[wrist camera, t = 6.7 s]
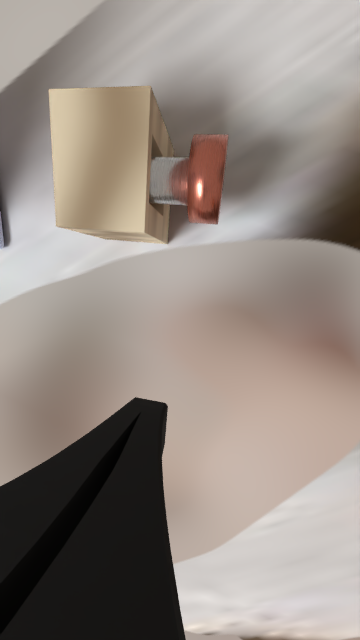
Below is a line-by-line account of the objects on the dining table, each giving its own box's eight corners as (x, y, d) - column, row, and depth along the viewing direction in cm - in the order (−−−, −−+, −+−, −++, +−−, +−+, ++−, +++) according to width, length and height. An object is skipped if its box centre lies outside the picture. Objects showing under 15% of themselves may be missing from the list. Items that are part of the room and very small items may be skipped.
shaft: (98, 221, 15) (58, 206, 11) (98, 157, 14) (53, 114, 10) (217, 230, 14) (217, 215, 10) (226, 159, 13) (230, 112, 9)
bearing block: (105, 239, 16) (56, 226, 11) (104, 149, 15) (48, 89, 10) (167, 243, 16) (144, 232, 11) (173, 150, 14) (150, 86, 9)
